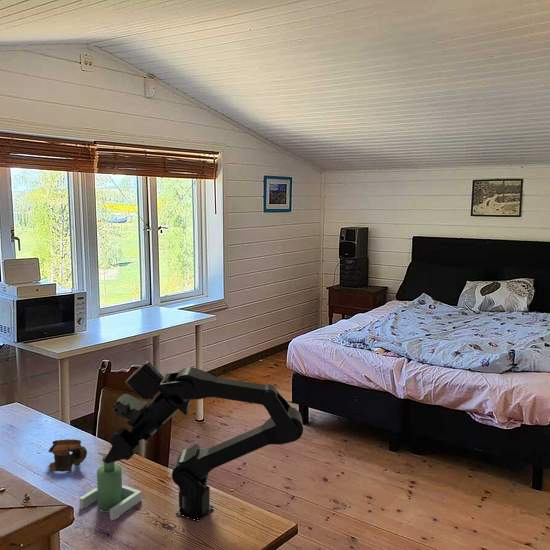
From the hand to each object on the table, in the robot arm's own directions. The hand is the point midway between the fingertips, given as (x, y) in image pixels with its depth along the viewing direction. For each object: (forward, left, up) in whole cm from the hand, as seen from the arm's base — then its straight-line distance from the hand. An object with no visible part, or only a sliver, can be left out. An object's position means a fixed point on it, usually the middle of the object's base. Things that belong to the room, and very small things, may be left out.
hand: (115, 452), depth 130 cm
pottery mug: (+25, -8, -14) cm, 30 cm away
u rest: (+1, +1, -13) cm, 13 cm away
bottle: (+1, +1, -13) cm, 13 cm away
